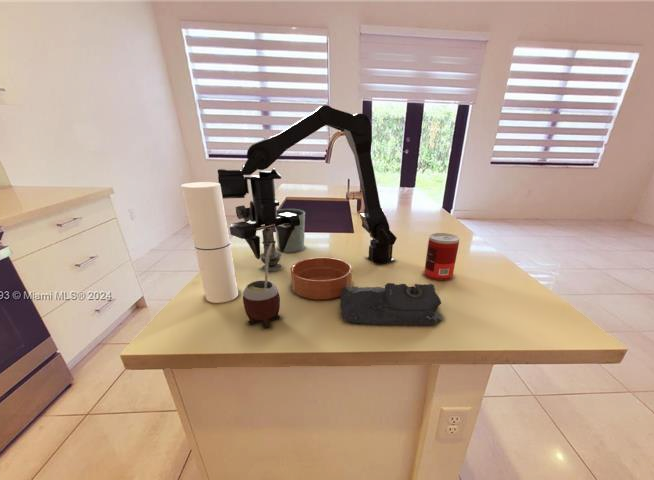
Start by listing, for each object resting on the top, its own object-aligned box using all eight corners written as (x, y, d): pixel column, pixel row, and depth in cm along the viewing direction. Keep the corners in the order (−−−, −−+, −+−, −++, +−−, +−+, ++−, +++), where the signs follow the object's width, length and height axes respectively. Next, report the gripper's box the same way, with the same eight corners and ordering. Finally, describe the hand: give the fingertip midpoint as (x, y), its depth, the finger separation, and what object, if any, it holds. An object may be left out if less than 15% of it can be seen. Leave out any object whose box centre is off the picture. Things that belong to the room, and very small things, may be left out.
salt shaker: (284, 269, 88) (280, 227, 82) (262, 272, 85) (257, 229, 80) (280, 262, 92) (276, 221, 87) (259, 264, 90) (254, 223, 85)
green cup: (291, 241, 111) (289, 207, 105) (313, 247, 106) (311, 211, 100) (269, 249, 104) (265, 212, 98) (291, 255, 98) (288, 217, 93)
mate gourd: (249, 333, 61) (237, 260, 54) (244, 313, 67) (233, 246, 60) (287, 325, 63) (281, 255, 56) (279, 307, 70) (272, 242, 63)
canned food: (457, 275, 88) (464, 237, 83) (443, 283, 83) (450, 243, 78) (433, 267, 92) (439, 231, 87) (418, 275, 87) (423, 236, 82)
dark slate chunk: (340, 291, 77) (340, 273, 75) (428, 292, 78) (431, 275, 76) (339, 325, 64) (339, 304, 62) (446, 326, 64) (450, 306, 62)
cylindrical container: (207, 305, 70) (181, 188, 58) (204, 292, 75) (180, 182, 64) (240, 299, 73) (222, 186, 61) (235, 286, 78) (217, 181, 67)
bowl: (335, 270, 89) (335, 254, 86) (362, 292, 77) (363, 273, 75) (283, 280, 82) (282, 263, 80) (305, 306, 71) (304, 286, 68)
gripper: (274, 189, 91) (279, 241, 98) (213, 197, 78) (224, 256, 86) (299, 194, 84) (303, 249, 92) (237, 204, 72) (247, 267, 79)
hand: (270, 255), depth 87 cm, fingers closed on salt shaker, 8 cm apart
